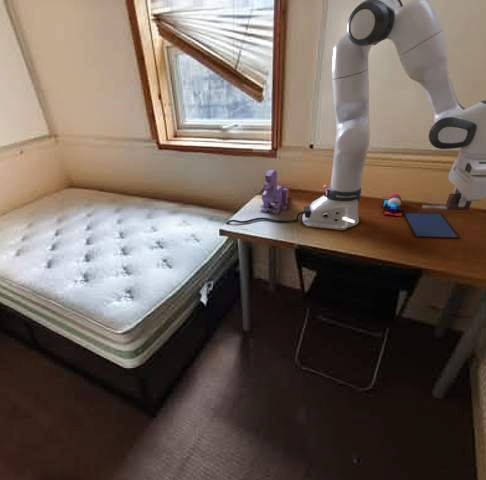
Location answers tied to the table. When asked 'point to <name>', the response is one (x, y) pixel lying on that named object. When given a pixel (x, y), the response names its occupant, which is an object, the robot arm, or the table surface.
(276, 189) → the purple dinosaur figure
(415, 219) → the desk mat
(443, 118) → the robot arm
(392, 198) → the toy figure
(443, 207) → the letter opener
